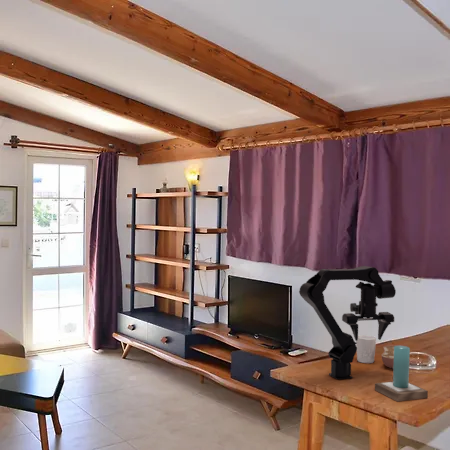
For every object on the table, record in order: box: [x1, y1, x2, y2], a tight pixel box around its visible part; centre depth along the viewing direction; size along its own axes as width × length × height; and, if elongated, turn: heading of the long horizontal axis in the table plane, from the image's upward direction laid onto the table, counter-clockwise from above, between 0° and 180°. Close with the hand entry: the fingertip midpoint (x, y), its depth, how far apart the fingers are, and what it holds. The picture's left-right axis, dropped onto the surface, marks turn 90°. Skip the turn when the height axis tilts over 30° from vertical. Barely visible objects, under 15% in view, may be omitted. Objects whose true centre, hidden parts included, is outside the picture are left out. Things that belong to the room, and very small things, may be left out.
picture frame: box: [374, 381, 429, 402], centre depth 178 cm, size 12×12×3 cm
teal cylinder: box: [392, 345, 411, 388], centre depth 178 cm, size 5×5×13 cm
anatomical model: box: [380, 344, 395, 370], centre depth 216 cm, size 23×10×5 cm, turn 160°
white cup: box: [355, 334, 377, 364], centre depth 219 cm, size 8×8×10 cm
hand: (367, 340), depth 202 cm, fingers open, 9 cm apart
